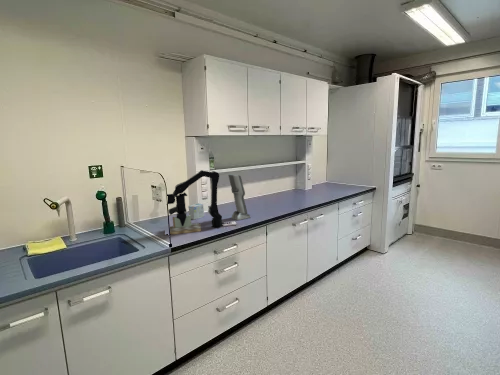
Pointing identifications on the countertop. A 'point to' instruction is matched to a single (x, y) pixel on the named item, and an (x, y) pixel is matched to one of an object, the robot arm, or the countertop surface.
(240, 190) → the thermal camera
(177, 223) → the door panel
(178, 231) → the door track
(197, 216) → the light bulb box
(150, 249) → the countertop surface
